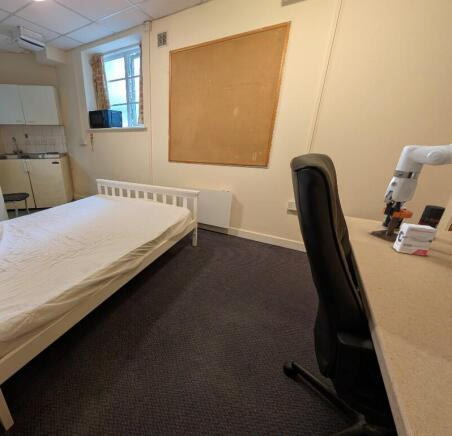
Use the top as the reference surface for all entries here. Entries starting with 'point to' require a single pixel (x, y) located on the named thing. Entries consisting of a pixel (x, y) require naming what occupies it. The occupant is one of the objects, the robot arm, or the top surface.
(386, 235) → the rack
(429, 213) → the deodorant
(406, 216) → the orange ring
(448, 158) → the robot arm
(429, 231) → the ink box
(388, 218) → the beverage can
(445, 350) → the top surface
